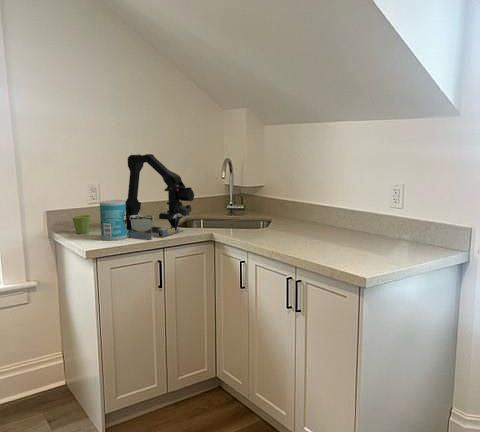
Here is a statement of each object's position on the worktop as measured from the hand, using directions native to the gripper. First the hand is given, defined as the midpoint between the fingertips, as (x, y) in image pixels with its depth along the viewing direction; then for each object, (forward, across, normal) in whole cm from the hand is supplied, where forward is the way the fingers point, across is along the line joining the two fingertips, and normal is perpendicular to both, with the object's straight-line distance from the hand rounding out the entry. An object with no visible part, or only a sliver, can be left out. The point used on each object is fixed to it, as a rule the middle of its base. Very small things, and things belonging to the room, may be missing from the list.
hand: (175, 230), depth 247 cm
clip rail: (+1, -4, 0) cm, 4 cm away
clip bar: (+1, -4, 0) cm, 4 cm away
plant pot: (+2, -20, +44) cm, 48 cm away
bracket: (+1, -11, +9) cm, 14 cm away
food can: (+2, -23, +19) cm, 30 cm away
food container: (+2, -10, +12) cm, 16 cm away
